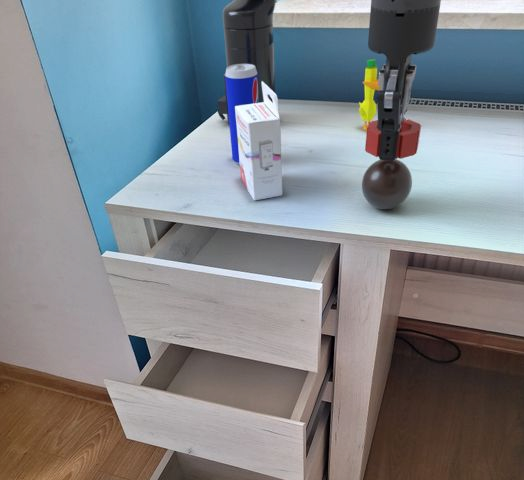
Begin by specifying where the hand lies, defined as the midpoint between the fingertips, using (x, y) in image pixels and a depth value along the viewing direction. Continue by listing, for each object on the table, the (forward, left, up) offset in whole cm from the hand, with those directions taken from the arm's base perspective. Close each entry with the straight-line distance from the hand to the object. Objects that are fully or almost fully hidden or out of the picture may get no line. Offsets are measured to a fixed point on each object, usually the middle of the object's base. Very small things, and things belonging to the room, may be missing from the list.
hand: (388, 156), depth 69 cm
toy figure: (-8, +35, -9) cm, 37 cm away
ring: (0, +3, 0) cm, 3 cm away
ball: (0, +3, -9) cm, 9 cm away
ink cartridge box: (-20, +5, -9) cm, 22 cm away
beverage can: (-26, +15, -9) cm, 31 cm away
